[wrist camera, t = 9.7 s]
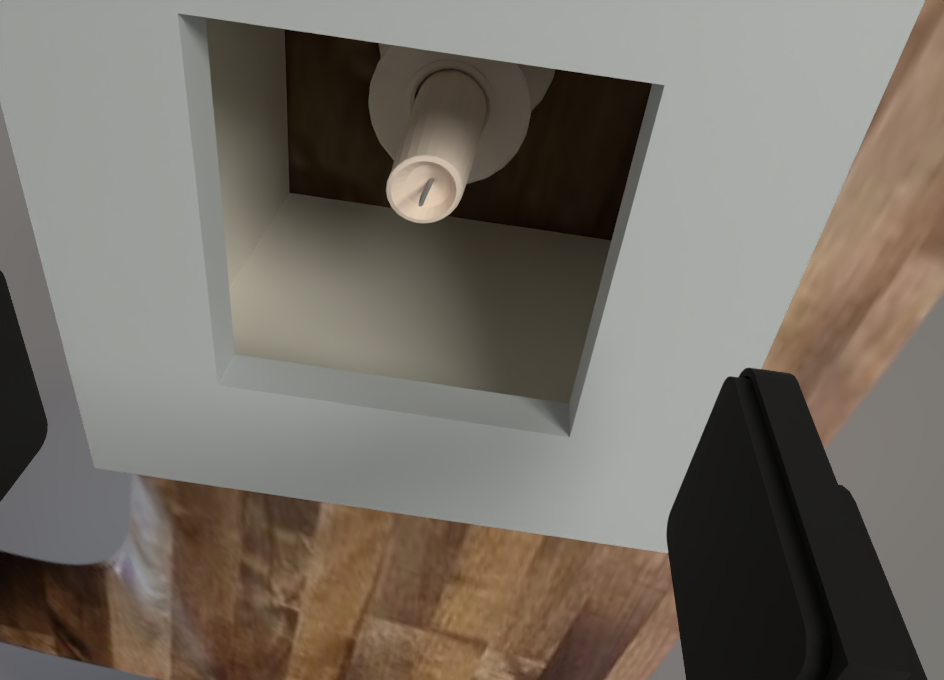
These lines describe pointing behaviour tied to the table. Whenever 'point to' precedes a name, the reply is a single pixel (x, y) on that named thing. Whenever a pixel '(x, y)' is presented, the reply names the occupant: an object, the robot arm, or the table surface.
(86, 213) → the drop box
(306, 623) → the table surface
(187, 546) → the table surface
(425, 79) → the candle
